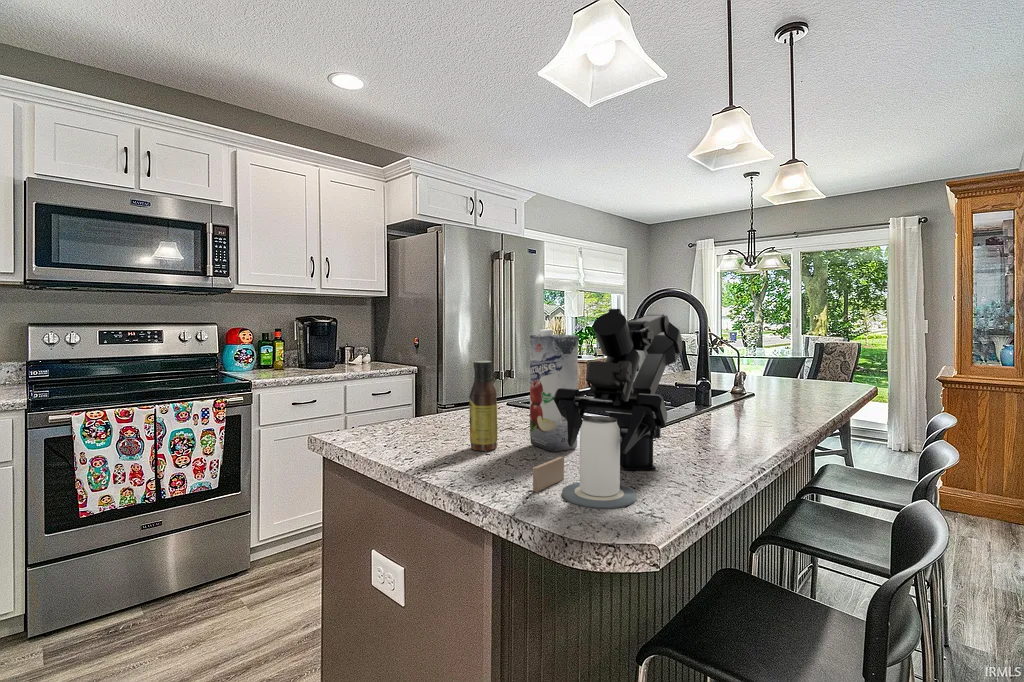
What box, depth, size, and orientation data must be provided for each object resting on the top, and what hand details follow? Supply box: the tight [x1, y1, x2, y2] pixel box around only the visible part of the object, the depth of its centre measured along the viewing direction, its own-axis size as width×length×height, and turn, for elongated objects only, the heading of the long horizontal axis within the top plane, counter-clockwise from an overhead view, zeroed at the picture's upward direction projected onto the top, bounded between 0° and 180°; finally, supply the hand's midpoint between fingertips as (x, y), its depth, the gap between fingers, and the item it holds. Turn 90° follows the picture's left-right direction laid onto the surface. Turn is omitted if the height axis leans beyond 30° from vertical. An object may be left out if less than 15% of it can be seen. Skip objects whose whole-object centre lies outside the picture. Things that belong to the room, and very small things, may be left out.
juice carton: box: [529, 328, 580, 453], centre depth 119 cm, size 9×10×27 cm
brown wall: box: [532, 456, 565, 493], centre depth 91 cm, size 9×1×4 cm, turn 144°
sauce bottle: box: [468, 360, 499, 452], centre depth 117 cm, size 6×6×20 cm
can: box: [579, 415, 621, 497], centre depth 86 cm, size 6×6×12 cm
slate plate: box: [561, 481, 637, 509], centre depth 86 cm, size 12×12×1 cm
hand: (596, 448), depth 84 cm, fingers open, 9 cm apart
